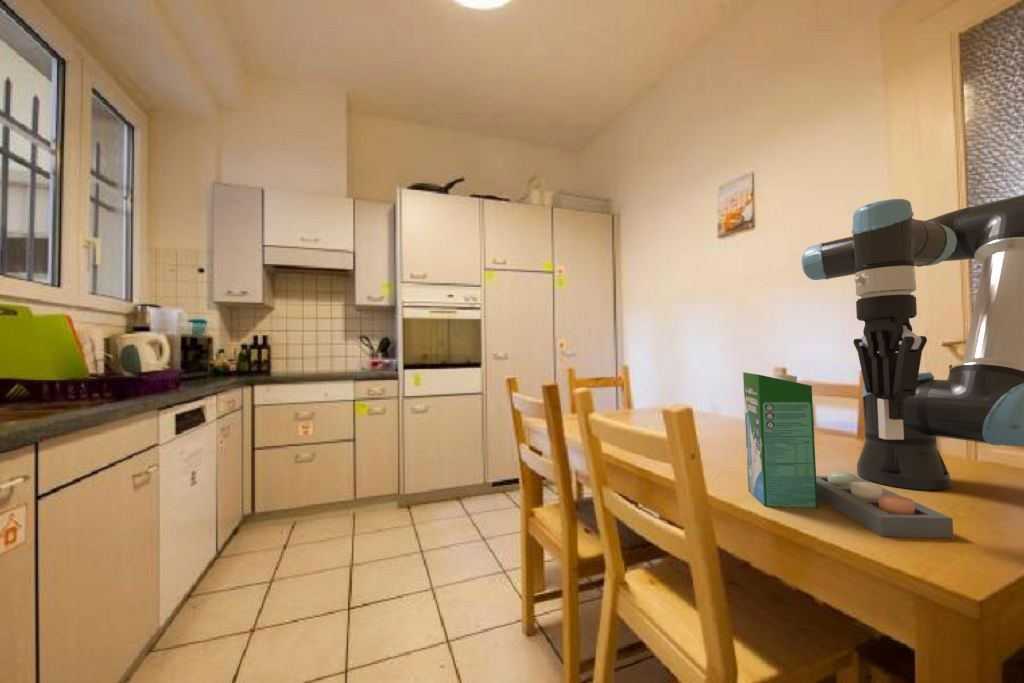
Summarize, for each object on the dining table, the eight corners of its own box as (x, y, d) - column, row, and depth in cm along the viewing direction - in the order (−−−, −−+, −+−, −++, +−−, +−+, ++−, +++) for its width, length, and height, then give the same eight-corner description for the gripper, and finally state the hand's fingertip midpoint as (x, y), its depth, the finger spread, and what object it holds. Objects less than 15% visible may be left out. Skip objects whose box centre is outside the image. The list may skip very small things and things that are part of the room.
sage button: (846, 485, 86) (846, 471, 86) (861, 492, 81) (861, 477, 81) (823, 485, 86) (822, 471, 86) (836, 492, 82) (836, 477, 82)
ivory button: (871, 497, 79) (870, 481, 79) (889, 506, 74) (888, 489, 74) (845, 497, 79) (845, 481, 79) (862, 505, 75) (861, 489, 75)
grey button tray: (803, 490, 88) (803, 475, 88) (856, 490, 87) (855, 476, 87) (881, 536, 66) (880, 517, 67) (953, 538, 65) (952, 518, 65)
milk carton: (818, 508, 79) (811, 373, 79) (764, 506, 80) (758, 374, 81) (796, 492, 87) (790, 370, 88) (748, 490, 89) (742, 371, 90)
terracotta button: (901, 511, 72) (900, 494, 72) (922, 522, 67) (921, 503, 67) (872, 511, 72) (871, 494, 72) (892, 521, 68) (891, 503, 68)
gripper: (835, 301, 78) (841, 431, 77) (889, 291, 65) (896, 447, 64) (880, 300, 77) (886, 431, 76) (944, 289, 64) (952, 447, 63)
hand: (891, 438), depth 70 cm, fingers closed
